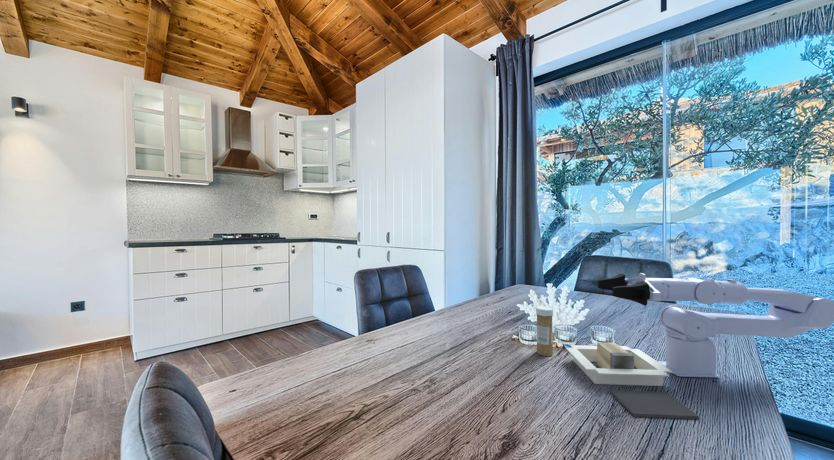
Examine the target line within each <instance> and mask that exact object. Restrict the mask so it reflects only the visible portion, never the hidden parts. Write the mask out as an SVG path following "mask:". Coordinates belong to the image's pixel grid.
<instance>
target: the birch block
mask: <svg viewBox="0 0 834 460" xmlns="http://www.w3.org/2000/svg"><path fill="white" fill-rule="evenodd" d="M596 346H597V362H596V365H597V366H598V367H599V368H605V369H635V366H634V356H633V355H632V354H631V353H628V352H627V351H625V350H624V349H623V348H621V347H620V346H621V345H619V344H617V343H615V342H608V341H607V342H604V341H603V342H601V341H599V342H598V341H597V343H596Z"/></svg>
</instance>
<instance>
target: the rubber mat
mask: <svg viewBox="0 0 834 460" xmlns="http://www.w3.org/2000/svg"><path fill="white" fill-rule="evenodd" d="M610 394H611V395H612V396H613V397H614V398H615V399H616V400H617V401H618V402H619V403H620V404H621V405H622V407H624V409H626V410H627V411H628V412H629V414H631V416H632V417H634V418H635V417H637V418H657V419H659V418H661V419H662V418H664V419H686V420H687V419H688V420H699V417H700V416H699V415H698V414H697V413H696V412H695V411H693V410H692V409H690V408H689V407H688V406H686V405H685V404H683V402H681V401H680V400H679V399H678V398H676V397H674V396H673V395H672V394H671V393H669V392H668V391H648V390H621V389H620V390H617V389H615V390H614V389H613V390H612V389H611V390H610Z"/></svg>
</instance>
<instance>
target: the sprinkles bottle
mask: <svg viewBox="0 0 834 460" xmlns="http://www.w3.org/2000/svg"><path fill="white" fill-rule="evenodd" d="M535 310H536V311H535V313H536V353H537V354H538V355H540V356H544V357H550V356H553V354H554V349H553V347H554V346H553V343H554V340H553V333H554V332H553V316H554V310H553V307H550V306H547V305H546V306H545V305H542V306H536V309H535Z"/></svg>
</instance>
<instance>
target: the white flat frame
mask: <svg viewBox="0 0 834 460" xmlns="http://www.w3.org/2000/svg"><path fill="white" fill-rule="evenodd" d="M619 346H620V347H621V348H623V349H624V350H625V351H627V352H628V353H631V354H632V355H633V356H634V369H605V368H600V367H599V368H597V367H596V366H595V365H594V364H593V363H597V345H593V344H592V345H590V344H589V345H588V344H586V345H584V344H583V345H582V344H581V345H580V344H578V345H577V344H576V345H575V344H572V345H571V344H570V347H565V349H566V351H567V352H568V353H569V354H570V355H571V356H572V361H573V362H574V363H575V364H576V365H577V366H578V367H579V368H580V370H581V371H583V373H584V374H585V375H586V376H587V377H588V378H589V379H590V380H591V381H592V382H593V383H594V384H595V385H615V386H616V385H618V386H619V385H621V386H656V387H657V386H658V387H663V386H664V377H670V375H669V374H668V373H671V374H673V373H672V371H671V370H669V369H668V368H666V367H665V366H663V365H662V364H660V363H659V362H658V360H656V359H654V358H653V357H651V356H650V355H648V354H647V353H646V352H643V351H642V350H640V349H637V348H630V347H629V346H626V345H619Z"/></svg>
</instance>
